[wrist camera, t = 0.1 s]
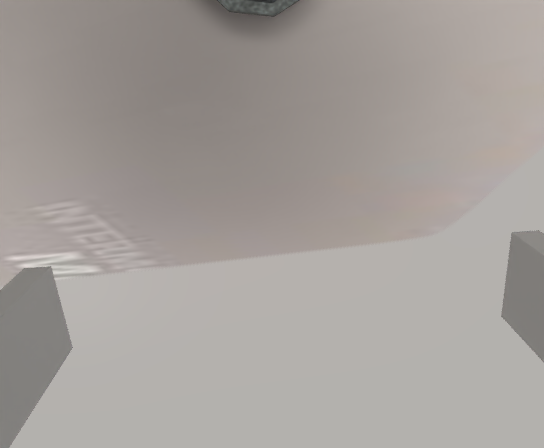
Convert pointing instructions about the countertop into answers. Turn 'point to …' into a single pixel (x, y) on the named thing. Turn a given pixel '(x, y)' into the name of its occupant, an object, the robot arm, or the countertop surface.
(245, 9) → the mortar and pestle
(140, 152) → the countertop surface
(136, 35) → the countertop surface
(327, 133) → the countertop surface
